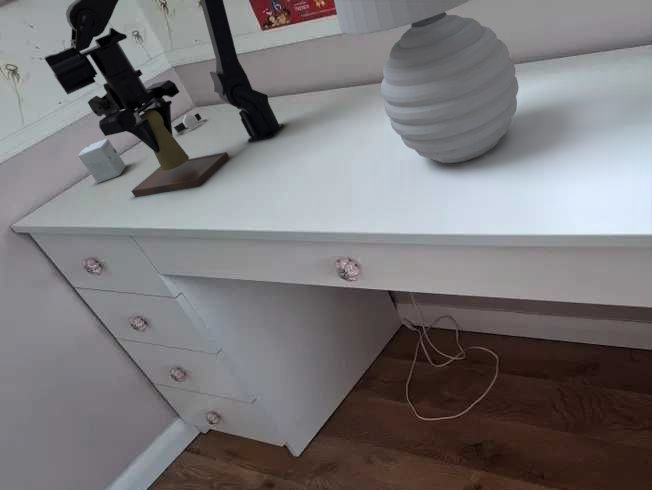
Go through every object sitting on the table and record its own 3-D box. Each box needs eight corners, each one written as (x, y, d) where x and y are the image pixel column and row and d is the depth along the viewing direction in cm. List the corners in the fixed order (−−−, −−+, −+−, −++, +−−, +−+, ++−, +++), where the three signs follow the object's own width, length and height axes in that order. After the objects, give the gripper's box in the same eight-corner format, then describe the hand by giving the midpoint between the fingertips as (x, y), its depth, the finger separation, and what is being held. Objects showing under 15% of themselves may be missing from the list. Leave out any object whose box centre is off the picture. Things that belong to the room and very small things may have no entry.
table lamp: (366, 177, 111) (252, -95, 86) (463, 109, 122) (387, -149, 97) (471, 196, 94) (369, -133, 69) (572, 115, 105) (515, -193, 80)
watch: (183, 135, 165) (175, 121, 162) (174, 135, 167) (166, 121, 165) (207, 121, 168) (199, 107, 166) (197, 121, 171) (190, 107, 169)
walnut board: (230, 158, 140) (226, 151, 139) (200, 186, 132) (195, 179, 131) (167, 169, 147) (163, 163, 146) (135, 197, 138) (130, 190, 137)
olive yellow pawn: (179, 167, 134) (148, 116, 127) (157, 172, 136) (124, 123, 129) (194, 153, 138) (164, 104, 131) (171, 159, 140) (141, 110, 133)
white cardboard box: (120, 175, 154) (100, 146, 149) (96, 184, 154) (76, 155, 149) (126, 165, 158) (108, 137, 154) (104, 174, 159) (84, 146, 154)
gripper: (118, 61, 134) (161, 132, 144) (56, 99, 122) (108, 174, 131) (158, 50, 130) (200, 124, 140) (98, 88, 117) (149, 166, 127)
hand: (164, 146), depth 135 cm, fingers closed on olive yellow pawn, 4 cm apart
